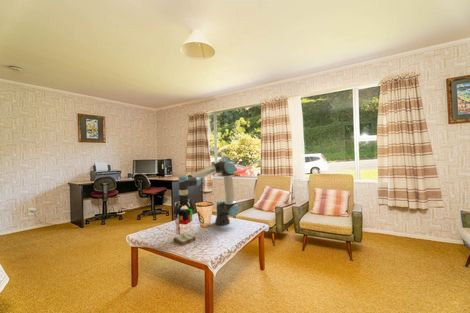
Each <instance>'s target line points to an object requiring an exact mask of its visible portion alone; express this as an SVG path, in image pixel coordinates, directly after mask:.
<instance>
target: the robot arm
mask: <svg viewBox="0 0 470 313" xmlns="http://www.w3.org/2000/svg"><path fill="white" fill-rule="evenodd" d="M236 171H237V170H236V165H235V163H234V162H232V161H228V160H227V161H218V162H215V163H212V164H210V166H208V167H206V168H203V169H201V170H198V171H195V172H194V173H190V174H188V175H180V176H178V201H175V205H174V208H173V212H172V214H173V215H174V216H175V217H174V219H175V218H176V221H175V223H176V222H177V223H179V214H178V213H179V211H180V209H182V208H183V207H186V208H187V209H192V212H193V211H194V210H195V207H194V205H193V203H192V199H191V198H189V188H190V187H197V186H200V185H201V183H202V179H204V178H206V177H208V176H210V175H213V174H214V175H215V174H219V173H220V174H221V176H222V177H223V184H224V185H223V186H224V194H225V195H224V196H225V200H219V201H216V205H215V206H216V218H215V221H214V223H215V225H216V226H227V225H230V223H231V221H230V219H229V218H230V217H235V216H237V215H238V214H239V212H240V207H239V205H238V204H237V201H236V199H235V192H234V190H235V188H234V180H233V176H234V175H235V172H236Z"/></svg>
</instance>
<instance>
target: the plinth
mask: <svg viewBox="0 0 470 313" xmlns="http://www.w3.org/2000/svg"><path fill="white" fill-rule="evenodd" d="M172 239H173V242H174V243H176V244H178V245H179V246H185V245H187V244H191V243H193V242H195V241H196V237H195V236H193V235H191V234H188V233H184V234H181V235H178V236H175V237H174V238H172Z"/></svg>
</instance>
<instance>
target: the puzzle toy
mask: <svg viewBox="0 0 470 313" xmlns="http://www.w3.org/2000/svg"><path fill="white" fill-rule="evenodd" d="M178 214H179V223H177V222H176V218H175V217H174V220H175V224H177V225H188V224H190V223H191V222H193V211H192V209H188V208H184V207H181V209H180V211H179V213H178Z"/></svg>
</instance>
